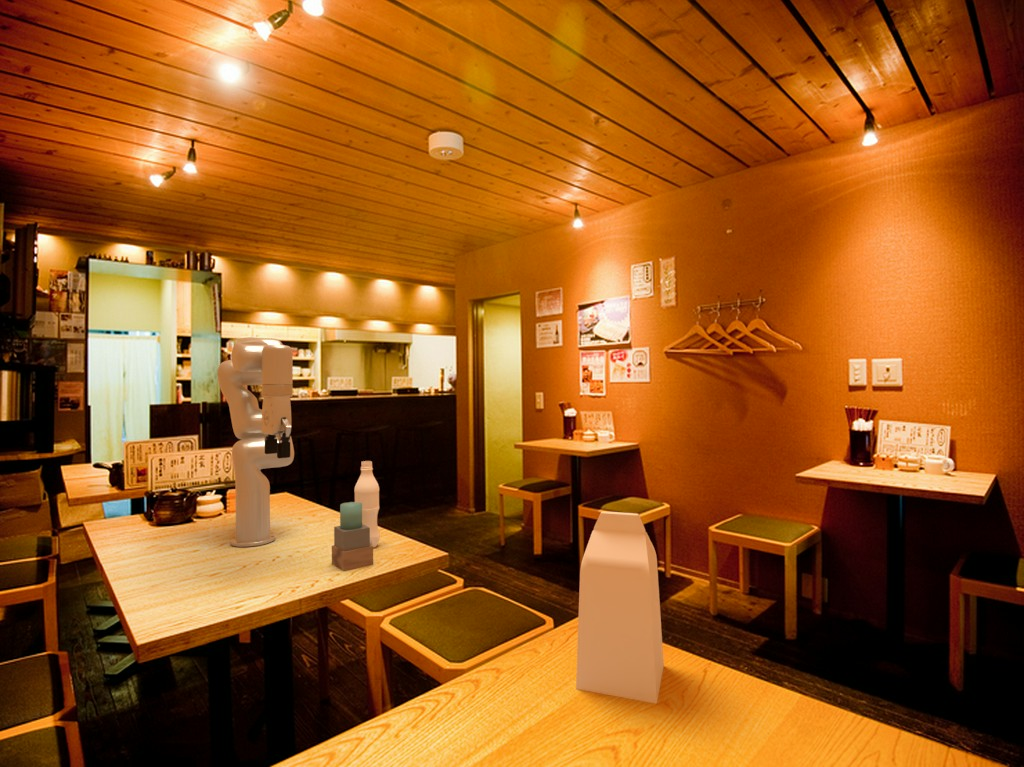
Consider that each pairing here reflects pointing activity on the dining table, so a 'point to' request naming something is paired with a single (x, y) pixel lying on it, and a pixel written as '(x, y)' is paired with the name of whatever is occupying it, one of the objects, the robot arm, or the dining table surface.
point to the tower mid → (351, 538)
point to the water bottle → (368, 500)
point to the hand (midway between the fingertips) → (277, 455)
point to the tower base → (352, 558)
